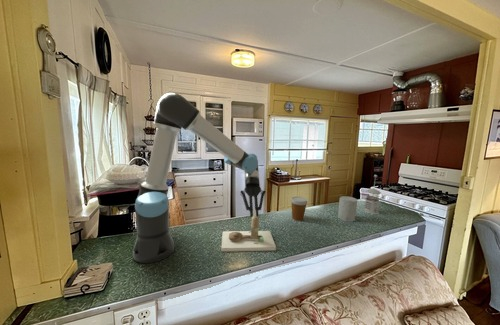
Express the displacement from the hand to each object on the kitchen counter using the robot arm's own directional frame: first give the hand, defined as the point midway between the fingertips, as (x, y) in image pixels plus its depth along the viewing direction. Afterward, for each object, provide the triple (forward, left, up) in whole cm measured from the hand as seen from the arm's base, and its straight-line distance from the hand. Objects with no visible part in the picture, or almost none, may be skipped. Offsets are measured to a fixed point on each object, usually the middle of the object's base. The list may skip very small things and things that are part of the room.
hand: (254, 224), depth 92 cm
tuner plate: (-3, -2, -8) cm, 9 cm away
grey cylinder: (+58, +22, -8) cm, 63 cm away
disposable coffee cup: (+28, +22, -8) cm, 37 cm away
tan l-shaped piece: (-4, -2, -6) cm, 7 cm away
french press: (+81, +31, -8) cm, 87 cm away
